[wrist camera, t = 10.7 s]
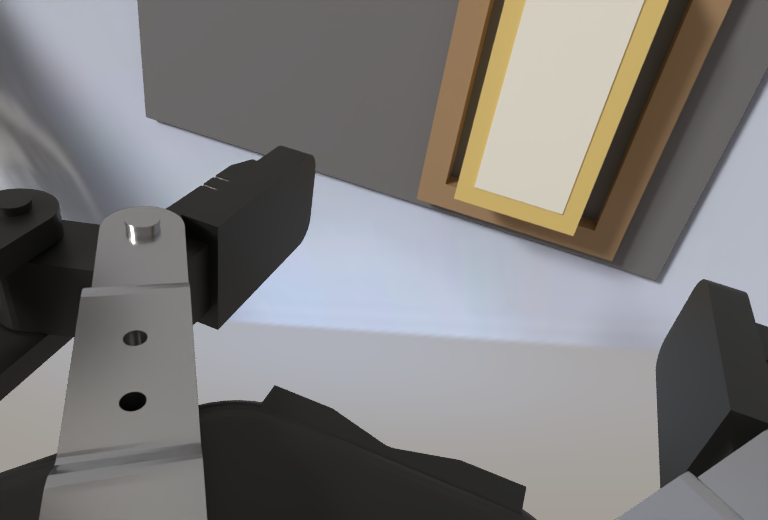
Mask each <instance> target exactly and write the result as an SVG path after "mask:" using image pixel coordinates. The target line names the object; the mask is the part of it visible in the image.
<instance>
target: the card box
mask: <svg viewBox="0 0 768 520" xmlns="http://www.w3.org/2000/svg"><path fill="white" fill-rule="evenodd" d="M668 1H669V0H505V2H504V6H503V10H502V13H501V17H500V21H499V25H498V29H497V33H496V37H495V41H494V44H493V48H492V52H491V56H490V60H489V64H488V68H487V72H486V76H485V79H484V83H483V87H482V91H481V95H480V99H479V103H478V107H477V110H476V114H475V118H474V122H473V126H472V130H471V134H470V138H469V142H468V145H467V149H466V153H465V157H464V161H463V165H462V169H461V173H460V176H459V180H458V184H457V188H456V192H455V196H454V199H457V200H460V201H463V202H467V203H470V204H473V205H476V206H479V207H482V208H486V209H489V210H492V211H495V212H498V213H501V214H505V215H508V216H511V217H514V218H517V219H520V220H523V221H527V222H530V223H533V224H536V225H539V226H542V227H546V228H549V229H552V230H555V231H558V232H561V233H565V234H568V235H571V236H574V233H575V231H576V228H577V226H578V223H579V221H580V219H581V216H582V214H583V211H584V209H585V206H586V204H587V201H588V199H589V196H590V194H591V191H592V189H593V186H594V184H595V181H596V179H597V177H598V174H599V172H600V169H601V167H602V164H603V162H604V159H605V157H606V154H607V152H608V149H609V147H610V144H611V142H612V140H613V137H614V135H615V132H616V130H617V127H618V125H619V122H620V120H621V117H622V115H623V112H624V110H625V107H626V105H627V102H628V100H629V98H630V95H631V93H632V90H633V88H634V85H635V83H636V80H637V78H638V75H639V73H640V70H641V68H642V65H643V63H644V61H645V58H646V56H647V53H648V51H649V48H650V46H651V43H652V41H653V38H654V36H655V33H656V31H657V28H658V26H659V24H660V21H661V19H662V16H663V14H664V11H665V9H666V6H667V4H668Z"/></svg>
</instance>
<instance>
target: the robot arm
mask: <svg viewBox="0 0 768 520" xmlns="http://www.w3.org/2000/svg"><path fill="white" fill-rule="evenodd" d="M315 167H316V164H315V158H314V156H313V155H310V154H307V153H304V152H301V151H298V150H294V149H291V148H288V147H285V146H278V147H276V148H275V149H273V150H272V151H271V152H269V153H268V154H266V155H265V156H263V157H262V158H261V159H259V160H258V161H256V160H253V159H252V160H248V161H245V162H241V163H238V164H234V165H231V166H229V167H228V168H226V169H225V170H223V171H222V172H220V173H219V174H217V175H216V177H215V178H214V177H213V178H211V179H210V180H208V181H207V182H205V183H204V185H203V186H199V187H198V188H196V189H195V190H193V191H192V192H190V193H189V194H187V195H186V196H184V197H183V198H182V199H180V200H179V201H177V202H176V203H174V204H173V205H171V206H170V207H168V208H167V209H163V208H158V207H151V206H140V207H131V208H126V209H122V210H119V211H116V212H114V213H112V214H110V215H109V216H107V217H106V218H105V219H104V220H103V221H102V223H101V224H100V225H97V224H89V223H81V222H74V221H66V220H62V219H61V214H60V208H59V203H58V201H57V199H56V198H55V197H54V196H52V195H50V194H49V193H46V192H43V191H39V190H34V189H7V190H1V191H0V401H1V400H2V399H3V398H4V397H5V396H6V395H8V393H10V392H11V391H12V390H13V389H14V388H15V387H17V386H18V385H19V384H20V383H21V382H22V381H24V380H25V379H26V378H27V377H28V376H29V375H30V374H32V373H33V372H34V371H35V370H36V369H37V368H38V367H40V366H41V365H42V364H43V363H44V362H45V361H46V360H47V359H49V358H50V357H51V356H52V355H53V354H54V353H56V352H57V351H58V350H59V349H60V348H61V347H62V346H64V345H65V344H66V343H67V342H68V341H69V340H70V339H72V338H73V337H75V338H74V345H73V351H72V358H71V364H70V371H69V378H68V384H67V391H66V398H65V404H64V411H63V418H62V424H61V431H60V437H59V444H58V451H57V453H56V454H54V455H51V456H48V457H45V458H42V459H39V460H36V461H33V462H31V463H28V464H25V465H22V466H19V467H16V468H13V469H10V470H7V471H4V472H2V473H0V520H536V519H535V518H534V517H533V516H532V515H530V514H529V513H527V512H526V511H524V510H523V509H522V507H523V501H524V496H525V491H526V487H525V486H523V485H520V484H518V483H515V482H513V481H510V480H508V479H505V478H503V477H501V476H498V475H496V474H493V473H491V472H488V471H486V470H483V469H481V468H478V467H476V466H473V465H471V464H468V463H466V462H463V461H461V460H456V459H451V458H445V457H439V456H433V455H428V454H423V453H417V452H411V451H406V450H400V449H395V448H391V447H389V446H386V445H385V444H383V443H381V442H380V441H378V440H377V439H376V438H374V437H373V436H371V435H370V434H369V433H367V432H366V431H364V430H363V429H361V428H360V427H358V426H357V425H355V424H354V423H353V422H351V421H350V420H348V419H347V418H345V417H344V416H342V415H341V414H339V413H338V412H337V411H335V410H334V409H332V408H330V407H327V406H325V405H322V404H320V403H317V402H315V401H312V400H310V399H308V398H305V397H302V396H300V395H297V394H295V393H293V392H290V391H288V390H285V389H283V388H280V387H278V386H274V387H273V388H272V390H271V391H270V393H269V394H268V395H267V397H266V398H265V399H264V401H263V402H256V401H243V400H234V401H233V400H232V401H220V402H211V403H206V404H202V405H198V395H197V380H196V366H195V352H194V339H193V324H195V323H196V322H200V323H202V324H205V325H207V326H210V327H212V328H215V329H217V330H218V329H219V328H220V327H221V326H222V325H223V324H224V323H225V322H226V321H227V320H228V319H229V318H230V317H231V316H232V315H233V314H234V313H235V312H236V310H237V309H238V308H239V307H240V306H241V305H242V304H243V303H244V302H245V301H246V300H247V299H248V298H249V297H250V296H251V295H252V294H253V293H254V292H255V291H256V290H257V289H258V288H259V287H260V285H261V284H262V283H263V282H264V281H265V280H266V279H267V278H268V277H269V276H270V275H271V274H272V273H273V272H274V271H275V270H276V269H277V268H278V267H279V266H280V265H281V264H282V263H283V261H284V260H285V259H286V258H287V257H288V256H289V255H290V254H291V253H292V252H293V251H294V250H295V249H296V248H297V247H298V246H299V245H300V243H301V242H302V240H303V239H304V237H305V235H306V232H307V230H308V226H309V222H310V216H311V206H312V197H313V187H314V177H315ZM656 388H657V413H658V434H659V435H658V437H659V460H660V461H659V463H660V488H661V489H659V490H658V491H657V492H655V493H654V494H652V495H650V496H649V497H648V498H646V499H645V500H643V501H642V502H640V503H639V504H637V505H636V506H634V507H633V508H631V509H630V510H628V511H627V512H625V513H624V514H622V515H621V516H620V517H618V518H616V519H615V520H768V327H767V326H764V325H761V324H758V323H755V319H754V315H753V312H752V308H751V305H750V301H749V297H748V295H747V293H746V292H744V291H740V290H737V289H734V288H731V287H728V286H724V285H721V284H718V283H715V282H712V281H709V280H705V279H703V280H701V281H700V282H699V283H698V284H697V285H696V287H695V288H694V290H693V291H692V293H691V295H690V296H689V298H688V300H687V302H686V303H685V305H684V307H683V309H682V310H681V312H680V314H679V315H678V317H677V319H676V321H675V322H674V324H673V326H672V328H671V329H670V331H669V333H668V335H667V336H666V338H665V340H664V342H663V344H662V346H661V349H660V352H659V355H658V359H657V364H656Z"/></svg>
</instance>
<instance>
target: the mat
mask: <svg viewBox="0 0 768 520" xmlns="http://www.w3.org/2000/svg"><path fill="white" fill-rule="evenodd" d="M137 1H138V14H139V28H140V41H141V55H142V68H143V82H144V95H145V109H146V117H148V118H151V119H154V120H157V121H161V122H164V123H167V124H170V125H173V126H176V127H179V128H182V129H185V130H189V131H192V132H195V133H198V134H201V135H204V136H207V137H210V138H214V139H217V140H220V141H223V142H226V143H229V144H232V145H235V146H238V147H242V148H245V149H248V150H251V151H254V152H257V153H260V154H263V155H266V154H268V153H269V152H271V151H272V150H273V149H275V148H276V147H278V146H285V147H288V148H291V149H294V150H298V151H301V152H304V153H307V154H310V155H313V156H314V158H315V164H316V167H315V171H316V172H319V173H323V174H326V175H329V176H332V177H335V178H338V179H341V180H344V181H347V182H351V183H354V184H357V185H360V186H363V187H366V188H369V189H372V190H375V191H379V192H382V193H385V194H388V195H391V196H394V197H397V198H400V199H404V200H407V201H410V202H413V203H416V204H419V205H422V206H425V207H428V208H432V209H435V210H438V211H441V212H444V213H447V214H450V215H453V216H456V217H460V218H463V219H466V220H469V221H472V222H475V223H478V224H481V225H484V226H488V227H491V228H494V229H497V230H500V231H503V232H506V233H509V234H513V235H516V236H519V237H522V238H525V239H528V240H531V241H534V242H537V243H541V244H544V245H547V246H550V247H553V248H556V249H559V250H562V251H565V252H569V253H572V254H575V255H578V256H581V257H584V258H587V259H590V260H594V261H597V262H600V263H603V264H606V265H609V266H612V267H615V268H618V269H622V270H625V271H628V272H631V273H634V274H637V275H640V276H643V277H646V278H650V279H653V280H657V278H658V276H659V274H660V272H661V270H662V268H663V266H664V264H665V262H666V261H667V259H668V257H669V255H670V253H671V251H672V249H673V247H674V245H675V243H676V241H677V240H678V238H679V236H680V234H681V232H682V230H683V228H684V226H685V224H686V222H687V220H688V219H689V217H690V215H691V213H692V211H693V209H694V207H695V205H696V203H697V201H698V200H699V198H700V196H701V194H702V192H703V190H704V188H705V186H706V184H707V182H708V180H709V179H710V177H711V175H712V173H713V171H714V169H715V167H716V165H717V163H718V161H719V159H720V158H721V156H722V154H723V152H724V150H725V148H726V146H727V144H728V142H729V140H730V139H731V137H732V135H733V133H734V131H735V129H736V127H737V125H738V123H739V121H740V119H741V118H742V116H743V114H744V112H745V110H746V108H747V106H748V104H749V102H750V100H751V99H752V97H753V95H754V93H755V91H756V89H757V87H758V85H759V83H760V81H761V79H762V78H763V76H764V74H765V72H766V70H767V68H768V0H669V1H668V4H667V6H666V9H665V11H664V14H663V16H662V19H661V21H660V24H659V26H658V28H657V31H656V33H655V36H654V38H653V41H652V43H651V46H650V48H649V51H648V53H647V56H646V58H645V61H644V63H643V65H642V68H641V70H640V73H639V75H638V78H637V80H636V83H635V85H634V88H633V90H632V93H631V95H630V98H629V100H628V102H627V105H626V107H625V110H624V112H623V115H622V117H621V120H620V122H619V125H618V127H617V130H616V132H615V135H614V137H613V140H612V142H611V144H610V147H609V149H608V152H607V154H606V157H605V159H604V162H603V164H602V167H601V169H600V172H599V174H598V177H597V179H596V181H595V184H594V186H593V189H592V191H591V194H590V196H589V199H588V201H587V204H586V206H585V209H584V211H583V214H582V216H581V219H580V221H579V223H578V226H577V228H576V231H575V233H574V236H571V235H568V234H565V233H561V232H558V231H555V230H552V229H549V228H546V227H542V226H539V225H536V224H533V223H530V222H527V221H523V220H520V219H517V218H514V217H511V216H508V215H505V214H501V213H498V212H495V211H492V210H489V209H486V208H482V207H479V206H476V205H473V204H470V203H467V202H463V201H460V200H457V199H454V196H455V192H456V188H457V184H458V180H459V176H460V173H461V169H462V165H463V161H464V157H465V153H466V149H467V145H468V142H469V138H470V134H471V130H472V126H473V122H474V118H475V114H476V110H477V107H478V103H479V99H480V95H481V91H482V87H483V83H484V79H485V76H486V72H487V68H488V64H489V60H490V56H491V52H492V48H493V44H494V41H495V37H496V33H497V29H498V25H499V21H500V17H501V13H502V10H503V6H504V2H505V0H137Z"/></svg>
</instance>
